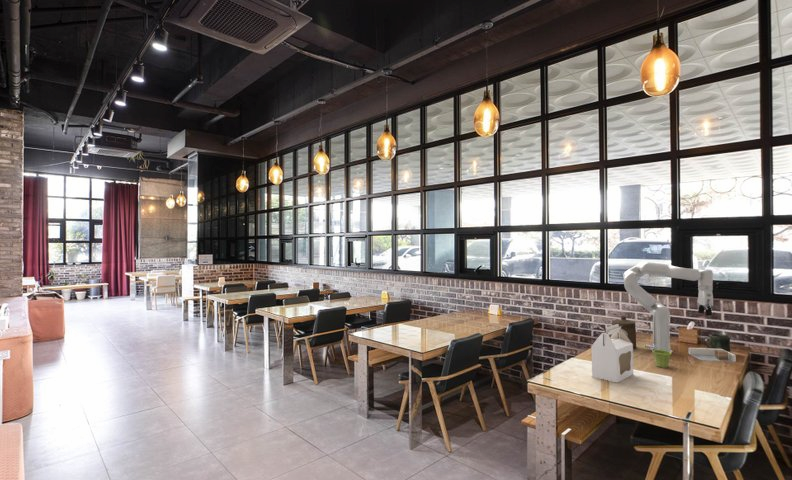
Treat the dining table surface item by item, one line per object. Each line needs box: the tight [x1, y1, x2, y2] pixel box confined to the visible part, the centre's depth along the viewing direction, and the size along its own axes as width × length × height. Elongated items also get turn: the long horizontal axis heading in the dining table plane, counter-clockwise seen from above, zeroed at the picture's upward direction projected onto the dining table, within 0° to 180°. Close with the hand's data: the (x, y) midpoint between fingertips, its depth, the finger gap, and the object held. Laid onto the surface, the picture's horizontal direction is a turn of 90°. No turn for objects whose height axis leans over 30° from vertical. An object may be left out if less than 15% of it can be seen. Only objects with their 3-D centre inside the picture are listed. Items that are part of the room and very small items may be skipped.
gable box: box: [591, 324, 634, 384], centre depth 226 cm, size 22×13×28 cm, turn 129°
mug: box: [702, 333, 732, 353], centre depth 270 cm, size 11×15×12 cm
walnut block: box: [714, 350, 728, 360], centre depth 253 cm, size 5×5×5 cm
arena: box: [688, 347, 737, 363], centre depth 256 cm, size 19×15×5 cm
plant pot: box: [652, 350, 672, 369], centre depth 242 cm, size 9×9×9 cm
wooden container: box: [611, 315, 637, 350], centre depth 289 cm, size 15×15×22 cm
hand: (704, 314), depth 266 cm, fingers open, 9 cm apart
